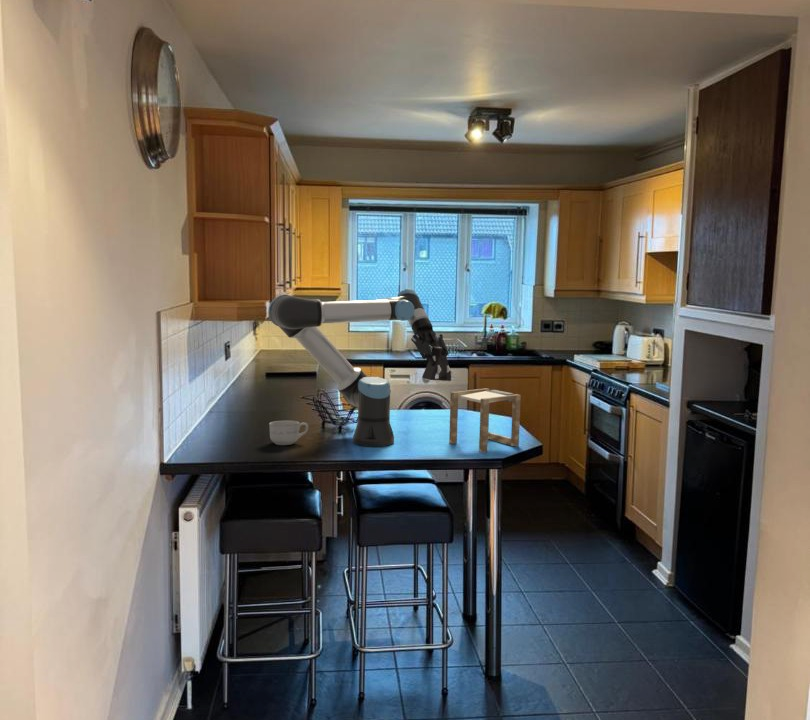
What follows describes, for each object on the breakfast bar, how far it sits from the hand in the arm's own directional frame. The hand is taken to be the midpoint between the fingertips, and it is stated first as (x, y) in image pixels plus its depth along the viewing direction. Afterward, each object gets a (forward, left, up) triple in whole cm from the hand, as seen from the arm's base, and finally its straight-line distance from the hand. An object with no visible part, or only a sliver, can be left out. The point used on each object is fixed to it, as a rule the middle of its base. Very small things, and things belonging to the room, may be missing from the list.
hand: (443, 371), depth 263 cm
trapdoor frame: (+10, +12, -27) cm, 31 cm away
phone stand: (-3, 0, -3) cm, 5 cm away
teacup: (-30, -47, -27) cm, 62 cm away
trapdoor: (+10, +13, -11) cm, 20 cm away
